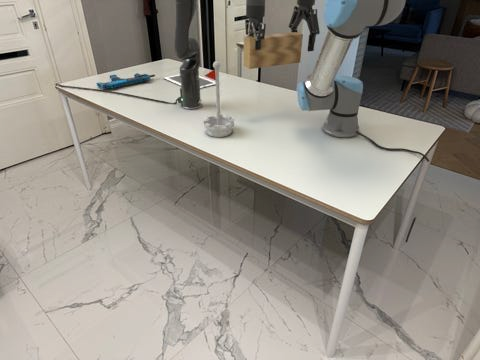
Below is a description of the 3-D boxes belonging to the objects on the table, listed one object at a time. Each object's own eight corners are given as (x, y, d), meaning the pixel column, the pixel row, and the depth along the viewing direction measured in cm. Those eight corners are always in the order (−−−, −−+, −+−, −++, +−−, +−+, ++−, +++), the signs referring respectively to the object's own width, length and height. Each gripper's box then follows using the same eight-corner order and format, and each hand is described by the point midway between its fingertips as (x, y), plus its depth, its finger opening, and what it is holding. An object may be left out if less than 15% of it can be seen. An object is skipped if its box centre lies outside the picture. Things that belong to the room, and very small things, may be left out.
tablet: (163, 78, 216) (163, 77, 215) (189, 72, 227) (189, 71, 226) (191, 90, 195) (191, 90, 195) (219, 83, 206) (219, 83, 206)
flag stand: (228, 123, 156) (226, 56, 140) (238, 135, 146) (237, 63, 130) (200, 127, 152) (195, 59, 136) (209, 140, 142) (205, 67, 126)
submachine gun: (140, 68, 226) (159, 74, 209) (142, 73, 228) (160, 80, 211) (89, 77, 207) (104, 85, 190) (90, 84, 209) (106, 92, 192)
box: (293, 59, 157) (295, 32, 151) (300, 62, 153) (303, 34, 146) (243, 65, 148) (243, 36, 142) (249, 69, 144) (249, 39, 137)
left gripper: (239, 2, 138) (239, 45, 147) (255, 6, 127) (254, 52, 136) (255, 1, 141) (254, 44, 150) (272, 5, 130) (270, 50, 139)
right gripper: (283, -8, 149) (280, 43, 161) (317, -3, 131) (311, 54, 142) (297, -8, 152) (293, 42, 164) (332, -4, 133) (325, 52, 145)
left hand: (254, 48), depth 143 cm, fingers closed on box, 6 cm apart
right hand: (301, 48), depth 153 cm, fingers open, 13 cm apart
